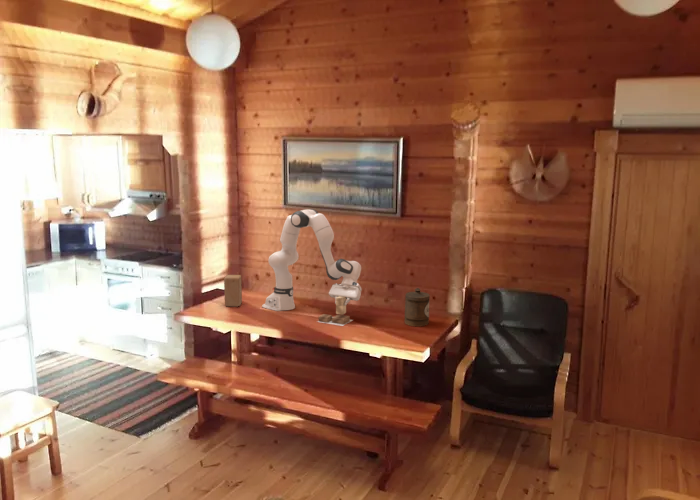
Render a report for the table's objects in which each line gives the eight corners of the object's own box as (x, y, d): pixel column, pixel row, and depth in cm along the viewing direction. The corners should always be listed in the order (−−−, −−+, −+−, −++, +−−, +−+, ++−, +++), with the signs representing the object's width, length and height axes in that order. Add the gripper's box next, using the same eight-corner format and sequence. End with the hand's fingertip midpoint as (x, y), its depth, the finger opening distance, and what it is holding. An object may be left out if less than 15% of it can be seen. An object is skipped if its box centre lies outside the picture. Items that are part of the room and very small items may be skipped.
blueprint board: (316, 323, 363) (316, 321, 363) (328, 317, 375) (328, 315, 375) (342, 328, 355) (342, 325, 355) (353, 321, 367) (353, 319, 367)
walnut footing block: (318, 321, 364) (318, 316, 363) (323, 318, 369) (323, 313, 369) (327, 322, 361) (327, 317, 361) (331, 320, 366) (331, 315, 366)
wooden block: (239, 307, 398) (238, 277, 395) (224, 306, 399) (223, 277, 395) (242, 303, 408) (241, 274, 405) (227, 302, 408) (226, 274, 405)
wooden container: (431, 326, 360) (432, 290, 356) (408, 327, 357) (408, 291, 354) (424, 319, 374) (425, 285, 370) (401, 320, 372) (402, 285, 368)
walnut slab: (331, 322, 361) (331, 317, 361) (338, 319, 368) (338, 314, 368) (343, 324, 358) (343, 319, 357) (349, 320, 365) (349, 316, 364)
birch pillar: (336, 313, 361) (335, 297, 359) (339, 311, 365) (339, 296, 363) (342, 314, 359) (342, 298, 357) (346, 312, 363) (346, 296, 361)
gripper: (331, 280, 370) (323, 299, 363) (361, 284, 360) (353, 303, 353) (335, 286, 374) (327, 304, 368) (364, 289, 365) (356, 309, 358)
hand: (340, 304), depth 360 cm, fingers closed on birch pillar, 4 cm apart
